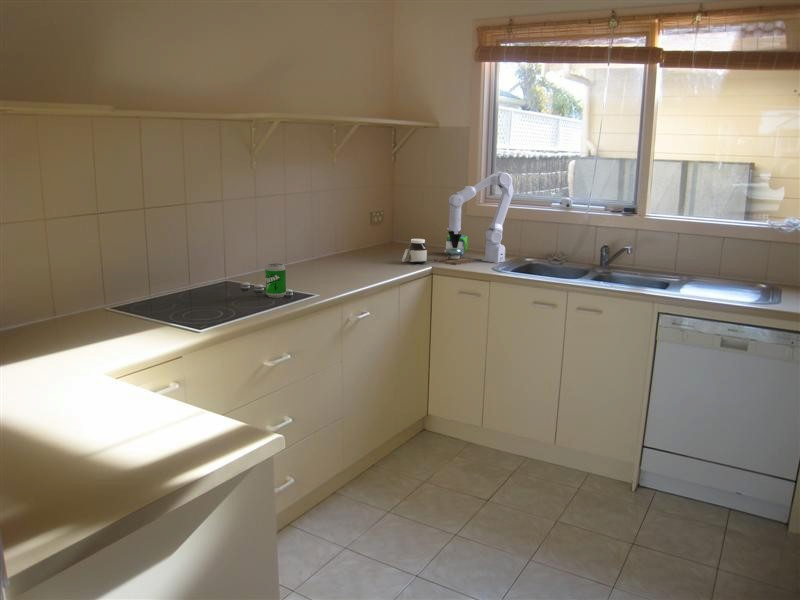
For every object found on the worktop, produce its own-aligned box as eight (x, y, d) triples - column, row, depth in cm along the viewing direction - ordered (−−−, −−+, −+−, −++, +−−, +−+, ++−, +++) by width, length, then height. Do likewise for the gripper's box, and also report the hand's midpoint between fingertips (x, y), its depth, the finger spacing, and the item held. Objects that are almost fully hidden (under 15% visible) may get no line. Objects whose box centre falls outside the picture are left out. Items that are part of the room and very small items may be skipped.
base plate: (473, 261, 345) (473, 254, 344) (455, 264, 335) (456, 257, 334) (451, 257, 354) (451, 251, 353) (433, 261, 344) (434, 254, 343)
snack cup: (473, 256, 359) (474, 237, 357) (456, 258, 354) (456, 238, 352) (457, 252, 372) (457, 233, 370) (440, 253, 367) (440, 234, 365)
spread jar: (428, 264, 334) (429, 240, 332) (407, 265, 330) (407, 241, 328) (418, 260, 345) (419, 237, 342) (397, 261, 341) (398, 238, 338)
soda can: (277, 292, 269) (276, 262, 266) (290, 295, 264) (289, 264, 261) (261, 295, 263) (261, 264, 260) (274, 299, 258) (274, 267, 256)
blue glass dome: (461, 252, 348) (461, 240, 346) (462, 255, 340) (463, 243, 339) (443, 252, 347) (444, 240, 346) (445, 254, 340) (445, 242, 338)
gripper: (445, 217, 347) (444, 244, 350) (448, 220, 333) (447, 248, 336) (459, 217, 347) (458, 244, 350) (463, 221, 333) (461, 249, 336)
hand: (454, 246), depth 343 cm, fingers open, 7 cm apart
